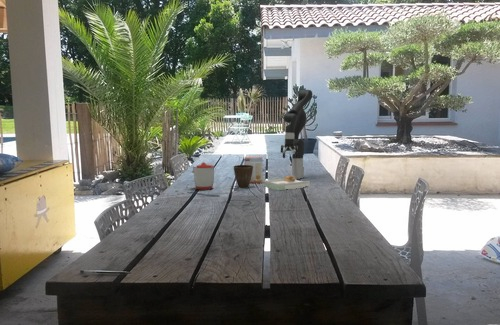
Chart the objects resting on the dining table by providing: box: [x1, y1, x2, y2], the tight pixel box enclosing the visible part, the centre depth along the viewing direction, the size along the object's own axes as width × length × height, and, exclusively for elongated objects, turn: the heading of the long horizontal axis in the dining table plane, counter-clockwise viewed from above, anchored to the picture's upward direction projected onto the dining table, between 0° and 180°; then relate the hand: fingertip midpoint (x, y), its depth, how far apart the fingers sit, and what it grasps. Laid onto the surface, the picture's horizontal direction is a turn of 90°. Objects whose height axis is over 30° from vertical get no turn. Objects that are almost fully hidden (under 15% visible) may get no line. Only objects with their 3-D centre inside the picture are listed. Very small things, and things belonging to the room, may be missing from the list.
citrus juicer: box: [191, 161, 215, 191], centre depth 361 cm, size 16×17×20 cm
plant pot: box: [233, 164, 253, 189], centre depth 366 cm, size 15×15×16 cm
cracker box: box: [243, 156, 263, 184], centre depth 387 cm, size 14×6×21 cm, turn 84°
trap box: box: [263, 178, 311, 191], centre depth 368 cm, size 28×20×4 cm
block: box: [284, 175, 296, 182], centre depth 375 cm, size 6×5×4 cm
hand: (288, 158), depth 391 cm, fingers open, 8 cm apart
